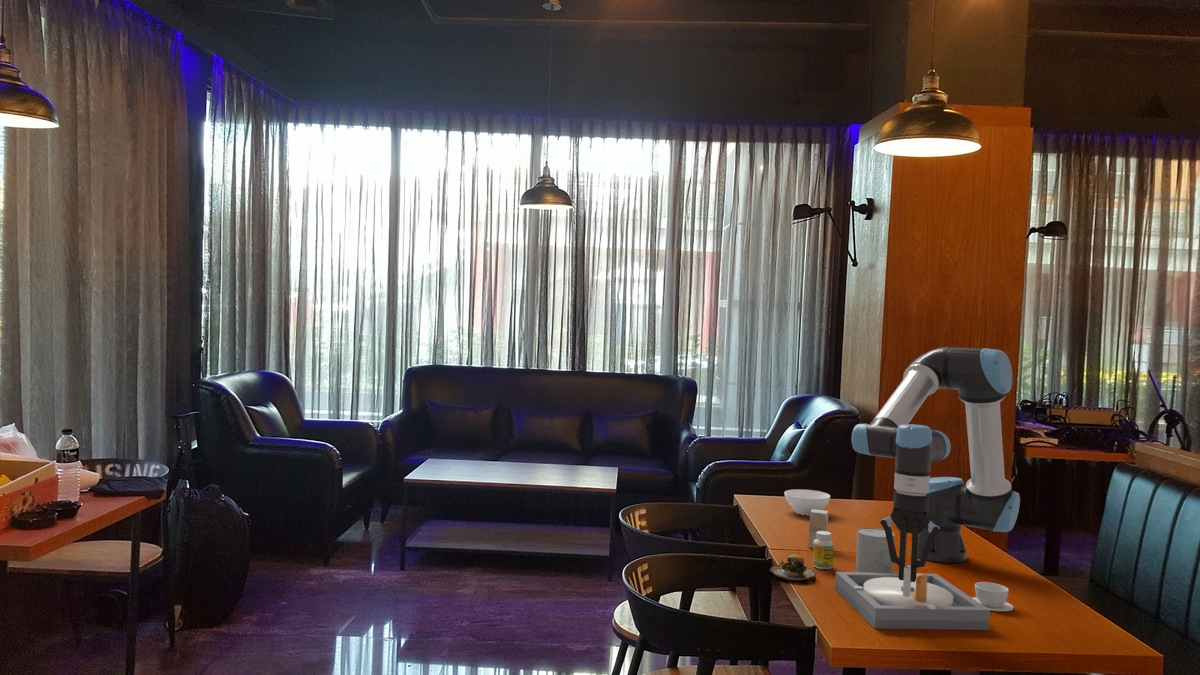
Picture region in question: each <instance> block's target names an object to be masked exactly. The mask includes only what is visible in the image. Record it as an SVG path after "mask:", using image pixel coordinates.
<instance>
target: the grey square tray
mask: <svg viewBox="0 0 1200 675" xmlns="http://www.w3.org/2000/svg"><path fill="white" fill-rule="evenodd" d="M923 574H926V575H927V583H931V584H934V585H937V586H939V587H942V588H944V589H946V590H947V591H949V592H950V593H951V594H952V595H953V606H933V605H932V604H926V606H897V605H880V604H879V603H878V602H876V601H875V600H874V599H873V598H872V597H871V596H870V595H869V594H867V593H866V592H865V591H864V583H865V582H866V581H868V580H870V579H874V578H882V577H896V578H898V577H899V572H893V573H870V572H856V571H854V572H853V571H835V580H834V581H835V582H834V590H835V591H836V592H837V593H838V594H839V595H840V596H841V597H842V598H843V600H845V601H846V602H847V603H848V604H849V605H850V606H851V607H852V608H853V609H854V610H855V611H856V612H857V613H858V614H859V615H860V616H861V617H862V618H863V619H864V620H866V622H867V623H868V624H869V625H870V626H871V627H872V628H874V629H884V630H885V629H886V630H887V629H889V630H890V629H892V630H894V629H896V630H897V629H899V630H952V631H953V630H957V631H959V630H961V631H964V630H965V631H966V630H968V631H990V614H991V612H990V611H991V610H989V609H987V608H986V607H984V606H983V605H982V604H980V603H979V602H977V601H976V600H974V599H973V597H971V596H970V595H969V594H967V593H965V592H964V591H962V590H961V589H959V588H958V587H957V586H955V585H953V584H952V583H951V582H949V581H948V580H946V579H944V578H943V577H942V576H940V575H939V574H938V573H928V572H927V573H924V572H923Z"/></svg>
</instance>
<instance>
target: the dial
mask: <svg viewBox="0 0 1200 675" xmlns="http://www.w3.org/2000/svg"><path fill="white" fill-rule="evenodd" d="M923 573H924V572H923ZM923 573H922V572H917V575H916V581H915V582H911V592H910V597H905V596H903V580H899V578H896V577H882V578H874V579H870V580H868V581H866V582H865V583H864V591H865V592H866V593H867V594H869V595H870V596H871V597H872V598H873V599H874V600H875V601H876V602H878V603H879V604H880V605H897V606H926V604H932V605H933V606H953V595H952V594H951V593H950V592H949V591H947V590H946V589H944V588H942V587H939V586H937V585H934V584H931V583H927V575H926V574H923Z"/></svg>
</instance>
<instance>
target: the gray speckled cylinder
mask: <svg viewBox="0 0 1200 675" xmlns="http://www.w3.org/2000/svg"><path fill="white" fill-rule="evenodd" d="M856 533H857V534H856V535H857V536H856V560H855V572H870V573H894V563H893V562H891V559H890V554H889V549H888V544H887V539H886V534H885V530H884V528H877V527H862V528H861V527H860V528H858V529H857V530H856ZM892 534H893V539H894V540H895V533H894V532H893V531H892Z"/></svg>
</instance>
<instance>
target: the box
mask: <svg viewBox="0 0 1200 675" xmlns="http://www.w3.org/2000/svg"><path fill="white" fill-rule="evenodd" d="M828 526H829V510H824V509H822V510H816V509H812V510H811V512H810V516H809V526H808V527H809V528H808V546H807V547H808V548H810V549H813V545H814V540H815V539H817V537H816V532H818V531H826V532H828V529H829V528H828Z"/></svg>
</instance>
